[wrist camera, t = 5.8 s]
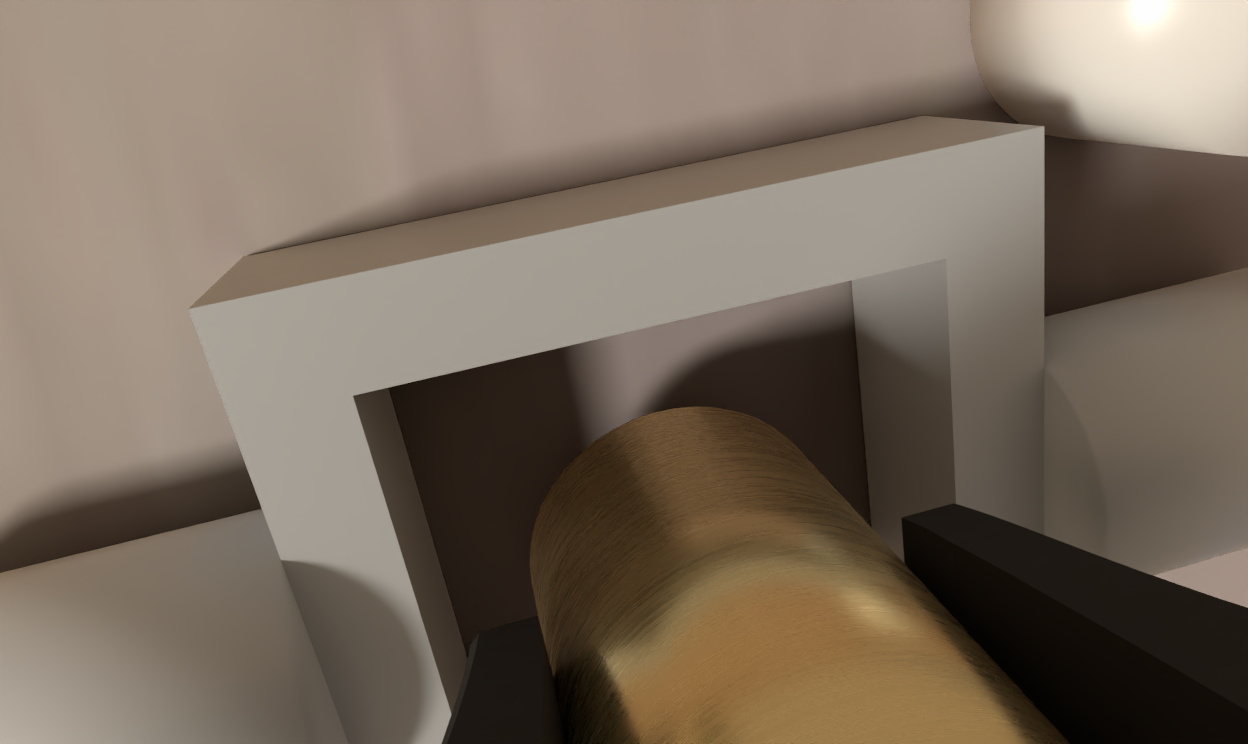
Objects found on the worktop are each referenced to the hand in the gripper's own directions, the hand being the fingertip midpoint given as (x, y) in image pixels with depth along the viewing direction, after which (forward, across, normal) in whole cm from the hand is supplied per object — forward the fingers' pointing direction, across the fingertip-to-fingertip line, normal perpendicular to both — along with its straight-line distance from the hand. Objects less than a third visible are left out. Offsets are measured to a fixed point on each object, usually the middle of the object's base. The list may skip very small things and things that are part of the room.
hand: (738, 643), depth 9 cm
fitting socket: (+4, 0, 0) cm, 4 cm away
